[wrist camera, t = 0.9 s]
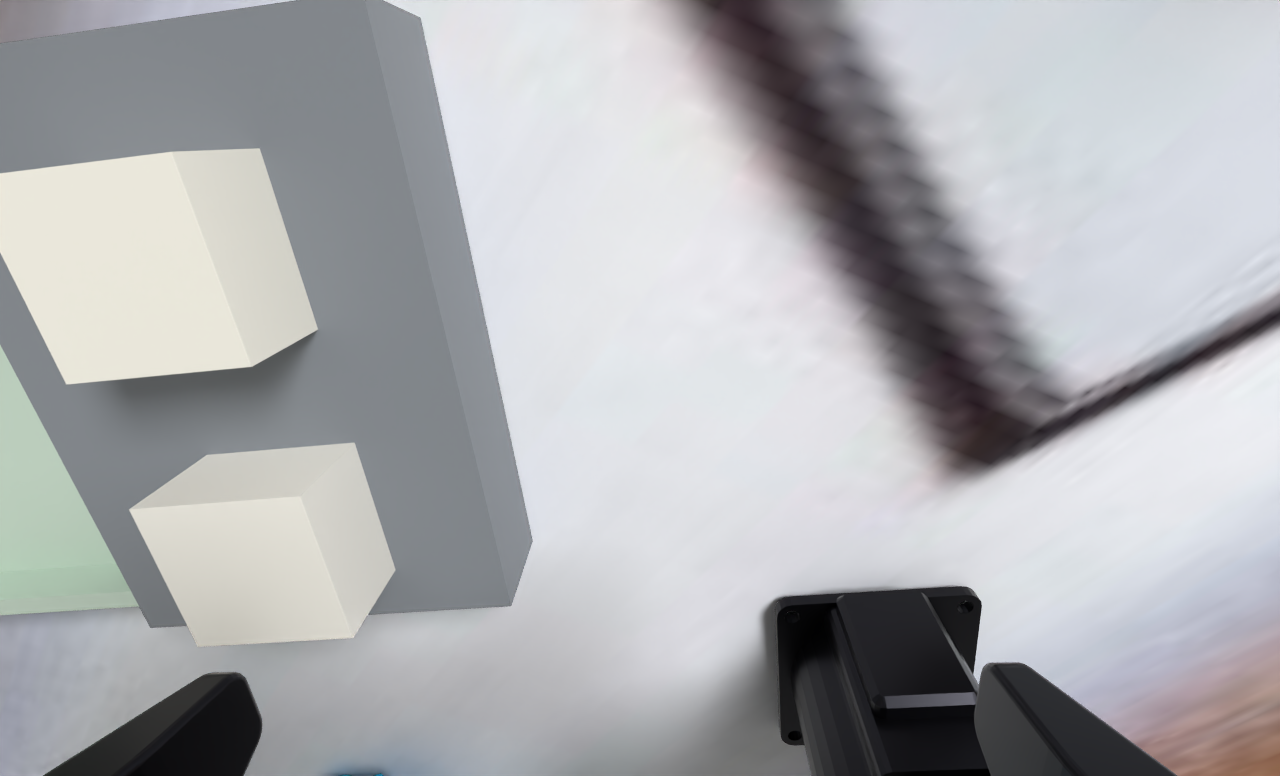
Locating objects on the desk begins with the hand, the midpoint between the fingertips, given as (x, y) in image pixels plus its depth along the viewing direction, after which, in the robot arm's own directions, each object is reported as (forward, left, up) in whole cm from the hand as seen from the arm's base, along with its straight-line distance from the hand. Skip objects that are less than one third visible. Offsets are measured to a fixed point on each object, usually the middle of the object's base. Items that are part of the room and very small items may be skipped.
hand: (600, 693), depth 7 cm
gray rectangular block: (+2, +10, -11) cm, 15 cm away
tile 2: (-2, +9, -8) cm, 12 cm away
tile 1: (+5, +9, -8) cm, 13 cm away
